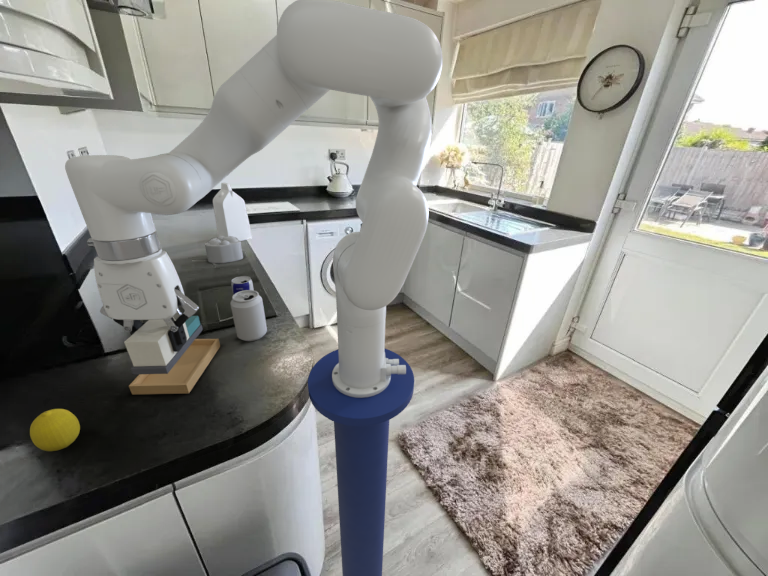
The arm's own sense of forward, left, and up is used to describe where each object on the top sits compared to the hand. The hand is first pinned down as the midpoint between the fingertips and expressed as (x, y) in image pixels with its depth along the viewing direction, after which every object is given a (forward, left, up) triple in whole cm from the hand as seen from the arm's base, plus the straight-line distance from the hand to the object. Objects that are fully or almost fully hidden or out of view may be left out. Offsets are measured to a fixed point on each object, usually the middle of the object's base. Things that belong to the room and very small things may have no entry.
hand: (162, 346), depth 55 cm
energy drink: (-1, -35, -16) cm, 38 cm away
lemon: (+16, +7, -16) cm, 23 cm away
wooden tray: (+7, -13, -15) cm, 21 cm away
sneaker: (0, -2, -2) cm, 3 cm away
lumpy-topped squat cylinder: (+23, -83, -16) cm, 87 cm away
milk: (+29, -111, -16) cm, 116 cm away
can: (-5, -26, -16) cm, 31 cm away
